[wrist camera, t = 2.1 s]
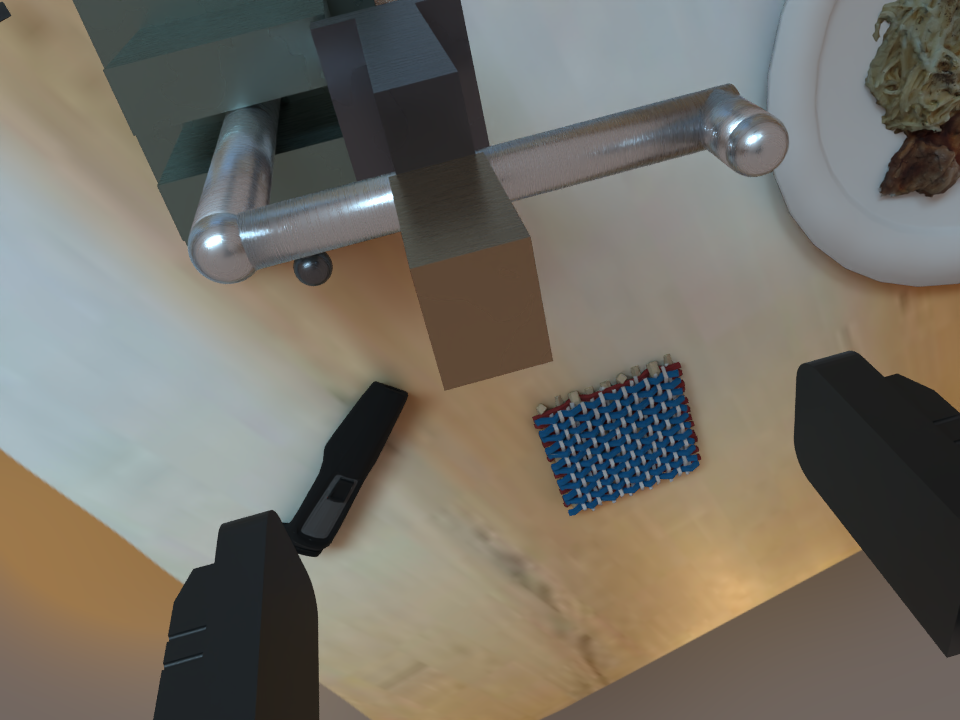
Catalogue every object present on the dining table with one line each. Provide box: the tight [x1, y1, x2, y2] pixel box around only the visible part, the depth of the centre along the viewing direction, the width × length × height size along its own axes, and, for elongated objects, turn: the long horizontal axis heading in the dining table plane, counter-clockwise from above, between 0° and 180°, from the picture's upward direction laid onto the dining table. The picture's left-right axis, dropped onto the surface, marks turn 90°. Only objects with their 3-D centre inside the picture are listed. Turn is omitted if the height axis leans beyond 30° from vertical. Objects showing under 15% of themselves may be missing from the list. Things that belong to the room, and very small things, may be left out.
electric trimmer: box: [283, 381, 408, 557], centre depth 51 cm, size 4×15×3 cm, turn 150°
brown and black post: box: [310, 0, 553, 390], centre depth 22 cm, size 7×5×15 cm
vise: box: [73, 0, 789, 286], centre depth 29 cm, size 16×21×23 cm
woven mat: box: [532, 354, 701, 516], centre depth 55 cm, size 10×11×2 cm
